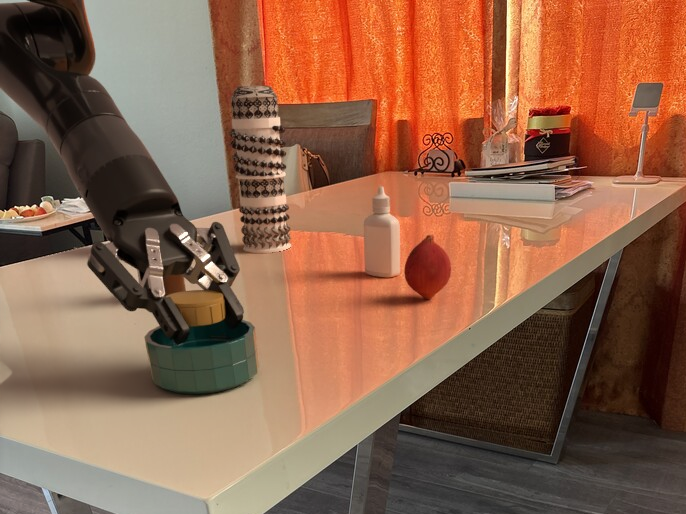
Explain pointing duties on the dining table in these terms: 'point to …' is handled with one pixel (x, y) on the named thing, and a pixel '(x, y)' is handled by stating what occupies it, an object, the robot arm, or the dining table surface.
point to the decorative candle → (260, 169)
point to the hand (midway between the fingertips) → (210, 330)
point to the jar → (174, 284)
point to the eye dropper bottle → (382, 239)
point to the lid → (200, 306)
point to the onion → (427, 268)
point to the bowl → (203, 358)
